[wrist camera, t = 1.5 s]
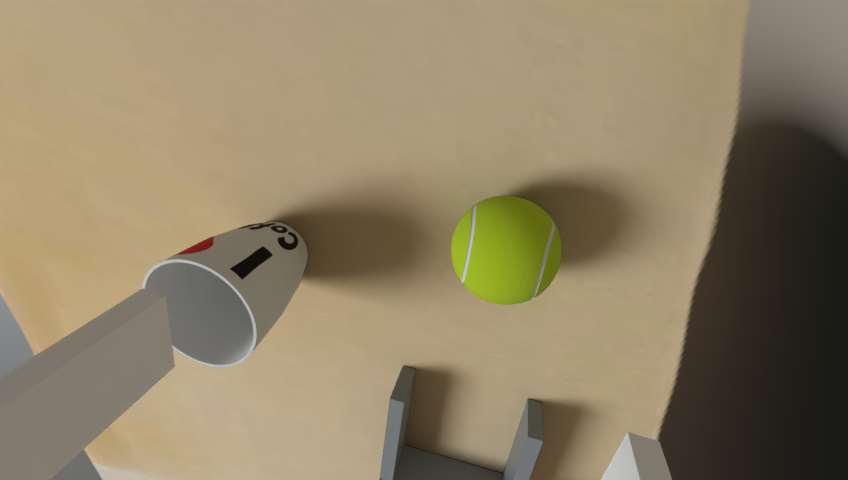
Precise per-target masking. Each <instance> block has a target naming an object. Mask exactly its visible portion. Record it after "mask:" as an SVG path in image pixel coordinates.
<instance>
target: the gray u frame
mask: <svg viewBox="0 0 848 480" xmlns="http://www.w3.org/2000/svg"><path fill="white" fill-rule="evenodd" d="M415 371H416V369H413V368H409V367H405V366H403V367H402V369H401V372H400V375H399V377H398V380H397V382H396V385H395V387H394V390H393V392H392V395H391V397H390V402H389V410H388V418H387V426H386V433H385V441H384V449H383V457H382V465H381V473H380V480H529V479H530V476H531V473H532V470H533V468H534V465H535V462H536V460H537V457H538V454H539V452H540V449H541V446H542V443H543V420H542V402H538V401H534V400H530V399H528V400H527V403H526V406H525V409H524V412H523V415H522V418H521V421H520V424H519V427H518V430H517V433H516V436H515V439H514V443H513V446H512V449H511V452H510V455H509V458H508V461H507V464H506V467H505V470H504V473H503V474H502V473H498V472H495V471H492V470H488V469H485V468H481V467H478V466H474V465H471V464H467V463H464V462H461V461H457V460H454V459H450V458H447V457H443V456H440V455H437V454H433V453H430V452H426V451H423V450H419V449H416V448H413V447H409V446H406V445H404V440H405V434H406V428H407V421H408V415H409V409H410V403H411V396H412V390H413V384H414V377H415Z"/></svg>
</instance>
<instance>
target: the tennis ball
mask: <svg viewBox="0 0 848 480" xmlns="http://www.w3.org/2000/svg"><path fill="white" fill-rule="evenodd" d="M561 255H562V245H561V239H560V234H559V231H558V229H557V226H556V225H555V223H554V221H553V220H552V218H551V217H550V216H549V215H548V213H547V212H546V211H544V210H543V209H542V208H541V207H539V206H538V205H536V204H535V203H533V202H531V201H529V200H526V199H523V198H520V197H515V196H497V197H492V198H488V199H485V200H483V201H481V202H479V203H478V204H476V205H474V206H473V207H471V208H470V209H469V210H468V211H467V212H466V213H465V214H464V216H463V217H462V218H461V219H460V221H459V223H458V225H457V227H456V229H455V231H454V234H453V238H452V244H451V256H452V263H453V266H454V269H455V272H456V274H457V276H458V278H459V279H460V280H461V281H462V284H463V285H464V286H465V287H466V288H467V289H468V290H469V291H470V292H472V293H473V294H474V295H476V296H478V297H479V298H481V299H483V300H486V301H489V302H492V303H496V304H505V305H509V304H518V303H522V302H526V301H528V300H531V298H533V297H536V296H538V295H539V294H541V293H542V292H543V291H544V290H545V289H546V288H547V287H548V286H549V285H550V283H551V282H552V281H553V279H554V277H555V275H556V273H557V271H558V269H559V266H560V262H561Z"/></svg>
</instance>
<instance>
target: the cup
mask: <svg viewBox="0 0 848 480" xmlns="http://www.w3.org/2000/svg"><path fill="white" fill-rule="evenodd" d="M307 260H308V251H307V247H306V244H305V242H304V240H303V239H302V237H301V236H300V235H299V233H298V232H297V231H295V230H294V229H293V228H291V227H290V226H288V225H286V224H284V223H280V222H266V223H259V224H252V225H246V226H243V227H240V228H237V229H234V230H231V231H228V232H225V233H222V234H219V235H216V236H214V237H211V238H208V239H206V240H204V241H202V242H200V243H198V244H196V245H194V246H192V247H190V248H188V249H186V250H184V251H182V252H180V253H178V254H176V255H174V256H172V257H170V258H168V259H166V260H164V261H162V262H160V263H158V264H156V265H155V266H153V267H152V268H151V269H150V270H149V271H148V273H147V274H146V276H145V278H144V281H143V285H142V289H145V290H148V291H152V292H155V293H159V294H162V295H165V296H166V303H167V310H168V318H169V326H170V333H171V341H172V347H173V348H174V349H175V350H177V351H178V352H180V353H181V354H183V355H184V356H186V357H188V358H190V359H192V360H194V361H196V362H198V363H201V364H204V365H208V366H213V367H230V366H234V365H237V364H239V363H241V362H243V361H244V360H246V359H247V358H248V357H249V356H250V354H251V353H252V352H253V351H254V349H255V348H256V347H257V345H258V344H259V343H260V342H261V340H262V339H263V338H264V337H265V335H266V334H267V333H268V331H269V330H270V329H271V328H272V326H273V325H274V324H275V323H276V321H277V320H278V319H279V318H280V316H281V315H282V313H283V312H284V310H285V308H286V306H287V305H288V303H289V301H290V300H291V298H292V296H293V294H294V293H295V291H296V289H297V288H298V286H299V284H300V282H301V279H302V276H303V273H304V270H305V267H306V264H307Z"/></svg>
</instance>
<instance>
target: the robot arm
mask: <svg viewBox="0 0 848 480" xmlns="http://www.w3.org/2000/svg"><path fill="white" fill-rule="evenodd" d="M174 367H175V364H174V356H173V349H172V341H171V333H170V326H169V318H168V310H167V303H166V296H165V295H162V294H159V293H155V292H152V291H148V290H145V289H141V290H140V291H138V292H136V293H135V294H133V295H132V296H130V297H128V298H127V299H125V300H124V301H122V302H120V303H119V304H117V305H116V306H114V307H112V308H111V309H109V310H108V311H106V312H104V313H103V314H101V315H100V316H98V317H96V318H95V319H93V320H92V321H90V322H88V323H87V324H85V325H84V326H82V327H80V328H79V329H77V330H76V331H74V332H72V333H71V334H69V335H68V336H66V337H65V338H63V339H61V340H60V341H58V342H57V343H55V344H53V345H52V346H50V347H49V348H47V349H45V350H44V351H42V352H41V353H39V354H37V355H36V356H34V357H33V358H31V359H29V360H28V361H26V362H25V363H23V364H22V365H20V366H18V367H17V368H15V369H13V370H12V371H10V372H9V373H7V374H6V375H4V376H2V377H1V378H0V480H50V479H51V478H52V477H53V476H54V475H55V474H56V473H57V472H59V471H60V470H61V469H62V468H63V467H64V466H65V465H66V464H67V463H69V462H70V461H71V460H72V459H73V458H74V457H75V456H76V455H77V454H79V453H80V452H81V451H82V450H83V449H84V448H85V447H86V446H87V445H89V444H90V443H91V442H92V441H93V440H94V439H95V438H96V437H97V436H98V435H100V434H101V433H102V432H103V431H104V430H105V429H106V428H107V427H108V426H110V425H111V424H112V423H113V422H114V421H115V420H116V419H117V418H118V417H119V416H121V415H122V414H123V413H124V412H125V411H126V410H127V409H128V408H129V407H131V406H132V405H133V404H134V403H135V402H136V401H137V400H138V399H139V398H140V397H142V396H143V395H144V394H145V393H146V392H147V391H148V390H149V389H150V388H152V387H153V386H154V385H155V384H156V383H157V382H158V381H159V380H160V379H162V378H163V377H164V376H165V375H166V374H167V373H168V372H169V371H170V370H171V369H173V368H174ZM601 480H672V478H671V475H670V472H669V469H668V466H667V463H666V460H665V457H664V455H663V451H662V449H661V446H660V442H659V441H656V440H653V439H649V438H646V437H643V436H639V435H636V434H632V433H629V432H627V434H626V436H625V438H624V440H623V441H622V443H621V445H620V447H619V448H618V450H617V452H616V454H615V455H614V457H613V459H612V461H611V463H610V464H609V466H608V468H607V470H606V471H605V473H604V475H603V477H602V478H601Z"/></svg>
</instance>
